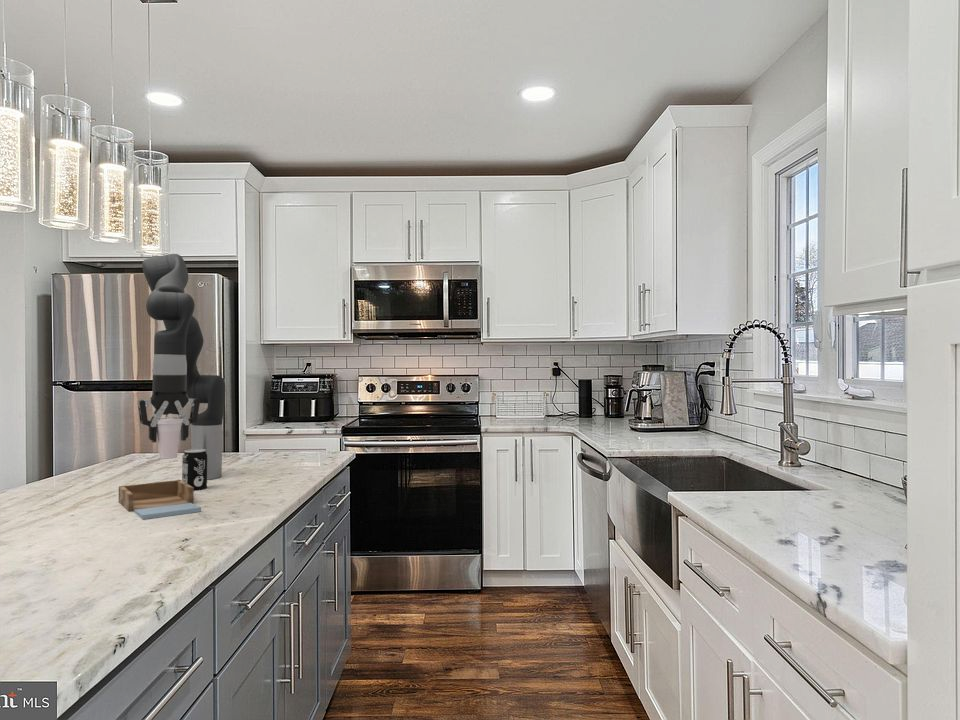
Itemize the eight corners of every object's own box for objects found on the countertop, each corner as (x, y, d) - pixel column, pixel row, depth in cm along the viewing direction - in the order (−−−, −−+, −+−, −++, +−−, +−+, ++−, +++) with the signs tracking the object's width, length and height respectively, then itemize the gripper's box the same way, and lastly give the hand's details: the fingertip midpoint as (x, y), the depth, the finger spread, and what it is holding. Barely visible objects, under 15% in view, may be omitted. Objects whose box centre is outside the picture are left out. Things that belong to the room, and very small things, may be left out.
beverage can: (211, 489, 184) (211, 449, 184) (199, 494, 178) (199, 452, 178) (190, 488, 185) (190, 448, 185) (177, 493, 178) (177, 451, 178)
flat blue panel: (133, 509, 154) (142, 514, 146) (189, 501, 162) (201, 507, 154) (133, 514, 154) (142, 520, 146) (189, 507, 162) (201, 512, 154)
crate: (118, 505, 163) (118, 486, 163) (180, 497, 173) (180, 479, 173) (128, 515, 153) (128, 494, 153) (193, 506, 163) (193, 487, 163)
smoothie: (148, 458, 152) (148, 401, 152) (171, 454, 158) (172, 399, 158) (165, 460, 149) (165, 402, 149) (188, 457, 155) (189, 400, 155)
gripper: (140, 373, 146) (139, 445, 146) (205, 373, 155) (204, 440, 155) (133, 372, 152) (132, 441, 152) (196, 372, 161) (195, 437, 161)
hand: (168, 441), depth 154 cm, fingers closed on smoothie, 6 cm apart
